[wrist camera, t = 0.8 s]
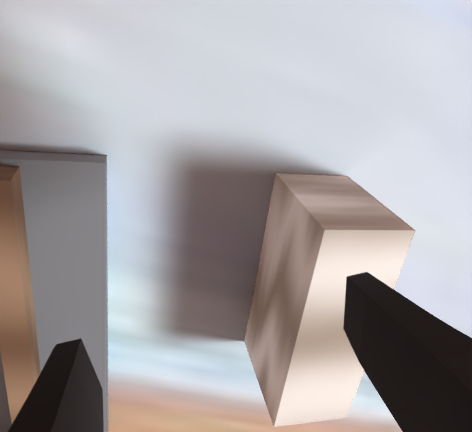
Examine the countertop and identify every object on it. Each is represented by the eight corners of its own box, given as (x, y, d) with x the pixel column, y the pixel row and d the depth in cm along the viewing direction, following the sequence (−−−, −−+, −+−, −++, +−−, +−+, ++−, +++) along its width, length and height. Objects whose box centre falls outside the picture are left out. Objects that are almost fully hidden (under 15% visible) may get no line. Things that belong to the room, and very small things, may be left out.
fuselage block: (303, 335, 27) (347, 417, 21) (243, 339, 25) (274, 426, 20) (346, 175, 22) (415, 230, 17) (275, 171, 21) (324, 229, 16)
